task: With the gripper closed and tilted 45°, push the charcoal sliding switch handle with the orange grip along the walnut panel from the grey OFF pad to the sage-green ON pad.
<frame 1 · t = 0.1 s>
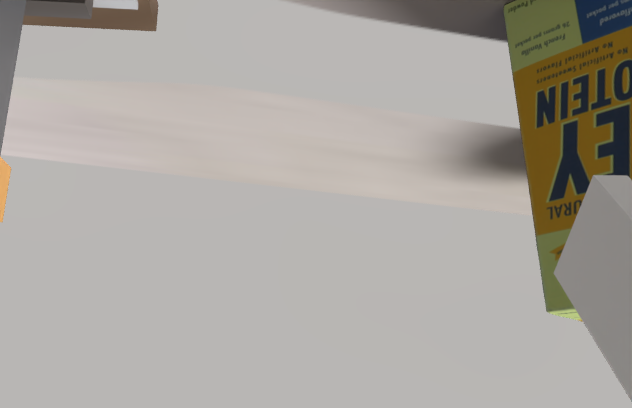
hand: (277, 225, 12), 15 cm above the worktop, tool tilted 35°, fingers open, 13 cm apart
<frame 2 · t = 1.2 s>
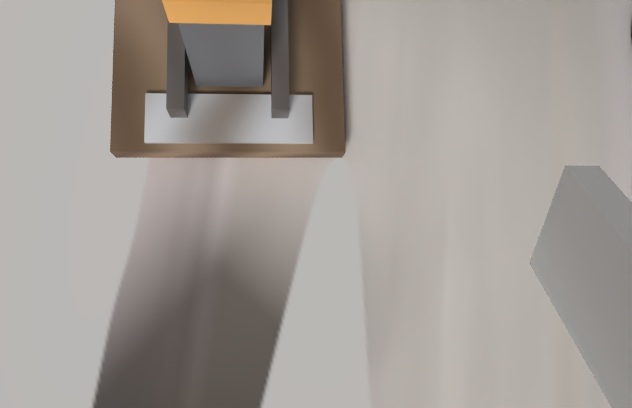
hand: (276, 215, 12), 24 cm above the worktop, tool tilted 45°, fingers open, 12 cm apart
switch handle: (224, 13, 31), point 7 cm above the worktop, slide at 0.0 cm
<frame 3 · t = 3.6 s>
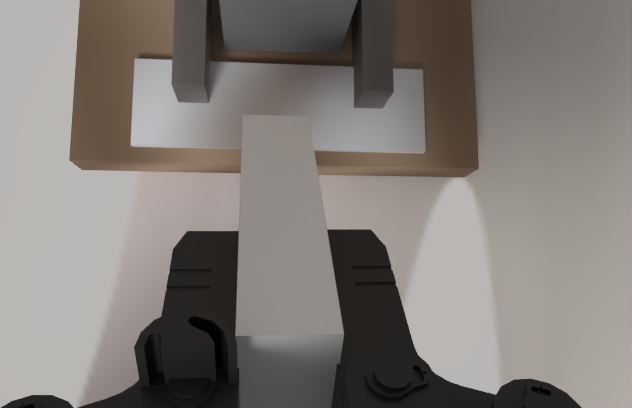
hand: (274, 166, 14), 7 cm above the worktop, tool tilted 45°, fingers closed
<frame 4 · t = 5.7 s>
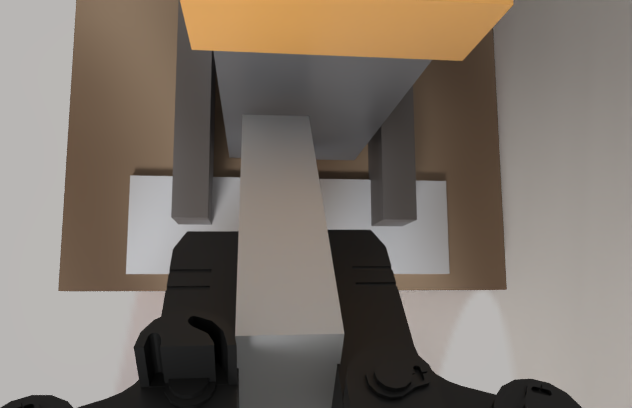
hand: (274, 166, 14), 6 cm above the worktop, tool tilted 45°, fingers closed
switch handle: (309, 21, 14), point 7 cm above the worktop, slide at 0.2 cm, touching gripper
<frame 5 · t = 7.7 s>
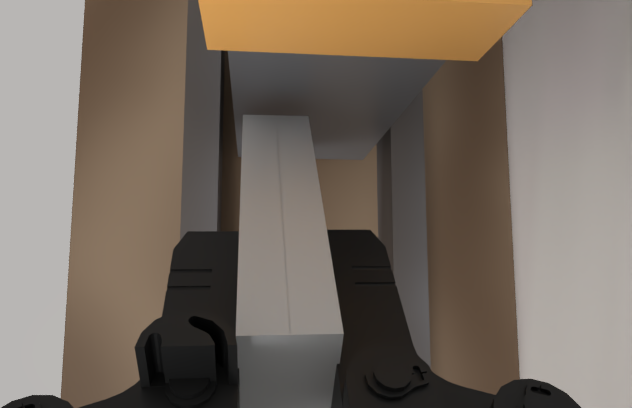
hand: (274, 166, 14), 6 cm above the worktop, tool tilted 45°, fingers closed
switch panel: (297, 162, 20), on the worktop
switch handle: (321, 21, 14), point 7 cm above the worktop, slide at 8.7 cm
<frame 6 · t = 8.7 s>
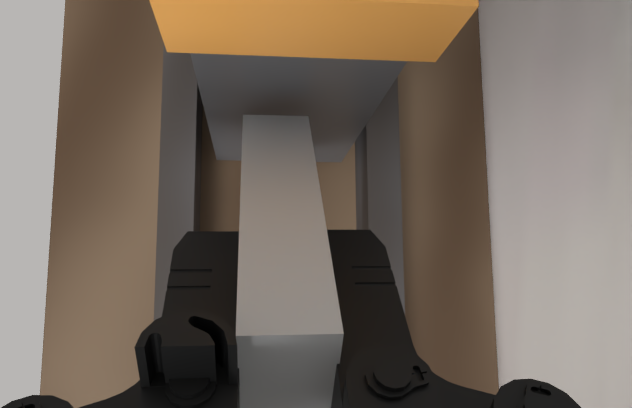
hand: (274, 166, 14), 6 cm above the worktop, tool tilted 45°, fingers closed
switch panel: (277, 260, 20), on the worktop
switch handle: (290, 24, 14), point 7 cm above the worktop, slide at 12.1 cm, touching gripper
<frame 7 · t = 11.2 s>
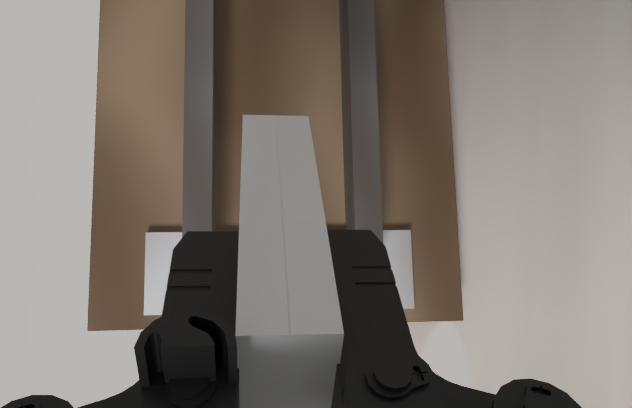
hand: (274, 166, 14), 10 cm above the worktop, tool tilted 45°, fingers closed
switch panel: (276, 18, 25), on the worktop
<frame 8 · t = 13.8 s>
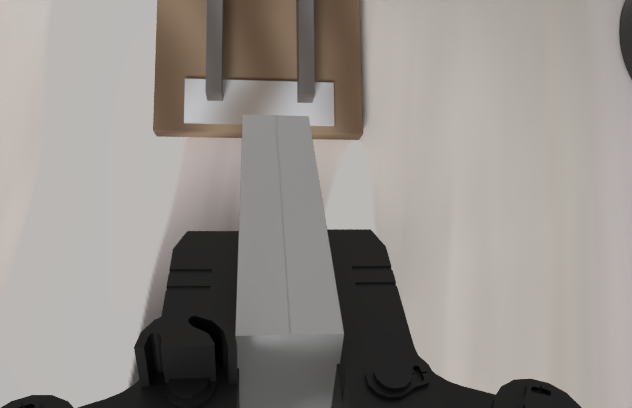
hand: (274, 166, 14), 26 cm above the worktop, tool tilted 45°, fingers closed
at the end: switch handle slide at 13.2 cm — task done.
